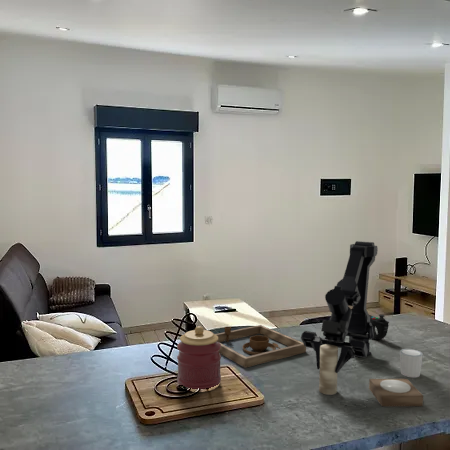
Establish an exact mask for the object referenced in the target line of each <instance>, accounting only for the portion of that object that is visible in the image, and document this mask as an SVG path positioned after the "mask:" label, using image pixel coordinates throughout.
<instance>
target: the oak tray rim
mask: <svg viewBox="0 0 450 450" xmlns="http://www.w3.org/2000/svg"><path fill="white" fill-rule="evenodd" d="M214 334H215V335H217V336H218V340H217V341H218V342H219V343H220V344H221V348H220V349H219V354H220V355H221V356H223V357H225V358H227V359H229V360H231V361H232V362H234V363H236V364H238V365H239V366H241V367H243V368H245V369H246V368H250V367H253V366H257V365H262V364H265V363H269V362H273V361H277V360H281V359H286V358H289V357H293V356H296V355H300V354H305V353H307V347H306V346H304V344H303V342H302V341H300V340H298V339H295V338H293V337H290V336H288V335H285V334H283V333H281V332H278V331H276V330H274V329H272V328H269V327H267V326H264V325H262V324H259V325H254V326H250V327H244V328H240V329H235V330H231V334H230V335H229V341H232V340H237V339H242V338H245V337H246V338H247V337H252V336H256V335H261V336H266V337H268V338H269V339H271V340H274V341H276V342H278V343H280V344H283V345H285V346H287V347H280V348H281V349H279V348H278V349H277V348H276V350H273V349H272V350H273V351H272V350H269V351H266V352H265V351H264V352H265V353H262V352H259V353H260V354H256V355H248V356H245V355H243V354H241V353H240V352H239V351H236V350H234V349H233V348H231V347H228V346H226V345H225V344H223V343H222V342H226V341H227V339H226V338H227V335H226V334H225V331H224V332H219V333H214Z"/></svg>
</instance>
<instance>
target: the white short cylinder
mask: <svg viewBox="0 0 450 450" xmlns="http://www.w3.org/2000/svg"><path fill="white" fill-rule="evenodd" d="M423 355H424V353H423V352H422V351H420V350H417V349H413V348H403V349H402V348H401V349H400V350H399V363H400V364H399V365H400V366H399V367H400V373H401V375H403V376H404V377H407V378H419V377H420V375H421V370H422V363H423Z"/></svg>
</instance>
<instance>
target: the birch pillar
mask: <svg viewBox="0 0 450 450" xmlns="http://www.w3.org/2000/svg"><path fill="white" fill-rule="evenodd" d="M338 351H339V348H338V347H337V346H335V345H330V344H324V345H321V346H320V368H319V374H318V375H319V378H318V380H319V381H318V382H319V383H318V385H319V386H318V391H319V393H321V394H323V395H327V396H331V395H333V396H334V395H336V394H337V392H338V373H336V372H335V370H336V365H337V362H338V359H339V352H338Z"/></svg>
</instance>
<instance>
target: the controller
mask: <svg viewBox="0 0 450 450" xmlns="http://www.w3.org/2000/svg"><path fill="white" fill-rule="evenodd" d="M369 316H370V322H371V325H372V328H373V339H372V340H376V341H377V340H383V339H384V338H385V337H386V336H387V334H388V329H389V325H390V324H389V323H390V321H388V320H386V319H385V315H384V314H378V316H374V315H370V314H369ZM376 331H377V332H376Z"/></svg>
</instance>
